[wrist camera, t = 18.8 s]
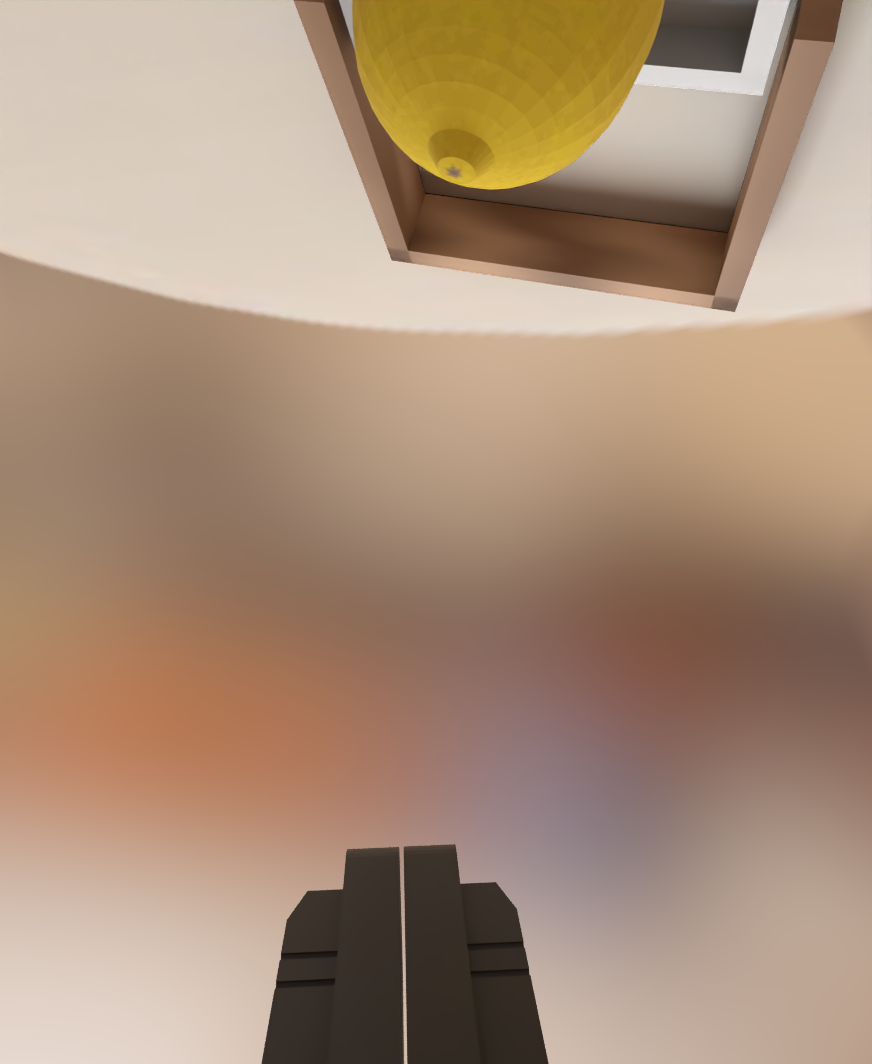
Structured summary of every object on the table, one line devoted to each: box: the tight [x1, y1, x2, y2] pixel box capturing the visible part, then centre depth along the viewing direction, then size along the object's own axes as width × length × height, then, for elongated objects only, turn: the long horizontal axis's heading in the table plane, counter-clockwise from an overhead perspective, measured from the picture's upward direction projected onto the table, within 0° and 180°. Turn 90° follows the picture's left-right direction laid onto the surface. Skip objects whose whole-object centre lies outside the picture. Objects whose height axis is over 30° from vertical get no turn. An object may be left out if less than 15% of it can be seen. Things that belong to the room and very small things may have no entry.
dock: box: [294, 0, 843, 312], centre depth 24 cm, size 12×11×2 cm
